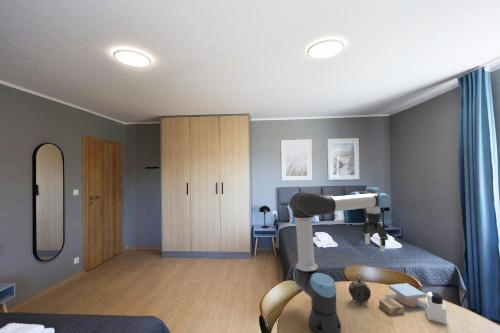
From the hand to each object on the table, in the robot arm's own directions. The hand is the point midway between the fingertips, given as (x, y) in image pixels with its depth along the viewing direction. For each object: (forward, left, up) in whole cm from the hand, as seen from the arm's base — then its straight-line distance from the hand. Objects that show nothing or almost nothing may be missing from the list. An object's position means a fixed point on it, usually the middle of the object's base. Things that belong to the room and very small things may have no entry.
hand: (374, 247), depth 134 cm
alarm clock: (-15, -6, -29) cm, 33 cm away
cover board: (+11, -10, -23) cm, 27 cm away
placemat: (+11, -10, -28) cm, 32 cm away
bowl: (+11, -10, -28) cm, 32 cm away
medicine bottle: (+14, -24, -29) cm, 40 cm away
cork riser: (-3, -15, -28) cm, 33 cm away
